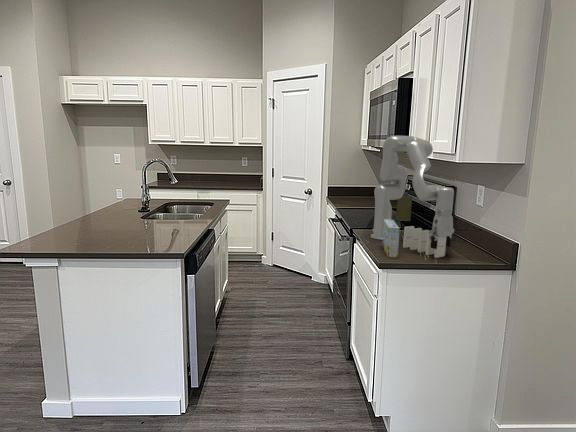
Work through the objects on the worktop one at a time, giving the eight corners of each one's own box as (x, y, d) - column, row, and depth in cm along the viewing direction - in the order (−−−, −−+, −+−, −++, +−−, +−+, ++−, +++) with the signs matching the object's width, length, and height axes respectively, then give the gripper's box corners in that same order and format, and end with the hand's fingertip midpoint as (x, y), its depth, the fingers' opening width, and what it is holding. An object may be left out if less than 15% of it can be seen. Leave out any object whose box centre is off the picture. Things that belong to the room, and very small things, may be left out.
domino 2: (410, 249, 211) (411, 228, 209) (418, 248, 214) (419, 227, 212) (412, 250, 210) (413, 229, 208) (420, 248, 213) (421, 228, 211)
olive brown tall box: (408, 221, 287) (410, 193, 283) (394, 219, 292) (396, 192, 288) (412, 219, 296) (414, 192, 292) (398, 217, 301) (400, 191, 297)
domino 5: (444, 256, 200) (446, 234, 198) (436, 257, 197) (438, 235, 195) (442, 255, 201) (444, 234, 199) (434, 257, 198) (436, 235, 196)
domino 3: (417, 251, 207) (419, 230, 205) (425, 250, 210) (427, 229, 208) (419, 252, 206) (421, 231, 204) (427, 251, 208) (429, 230, 206)
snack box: (381, 246, 216) (383, 218, 213) (391, 247, 215) (393, 219, 213) (386, 257, 195) (388, 227, 192) (398, 258, 195) (400, 227, 192)
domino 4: (425, 254, 202) (427, 233, 200) (433, 252, 205) (435, 231, 203) (427, 255, 201) (429, 233, 199) (435, 253, 204) (437, 232, 202)
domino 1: (402, 247, 215) (404, 227, 213) (410, 245, 218) (412, 226, 216) (404, 247, 214) (406, 227, 212) (412, 246, 217) (414, 226, 215)
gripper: (437, 215, 187) (434, 251, 190) (462, 213, 196) (458, 247, 199) (424, 212, 194) (421, 247, 197) (449, 210, 202) (445, 243, 205)
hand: (440, 247), depth 198 cm, fingers open, 9 cm apart
